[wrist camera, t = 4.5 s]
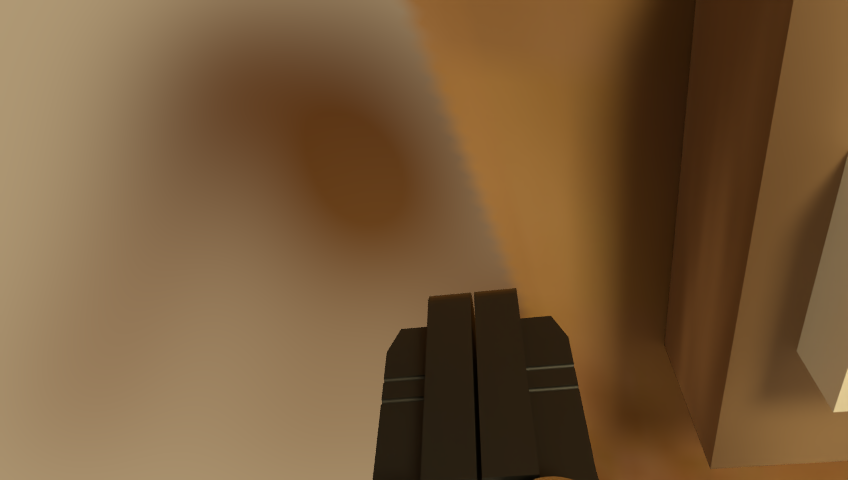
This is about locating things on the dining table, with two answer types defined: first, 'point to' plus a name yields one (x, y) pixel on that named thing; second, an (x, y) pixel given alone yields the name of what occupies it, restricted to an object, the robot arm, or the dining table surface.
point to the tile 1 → (830, 311)
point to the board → (757, 226)
